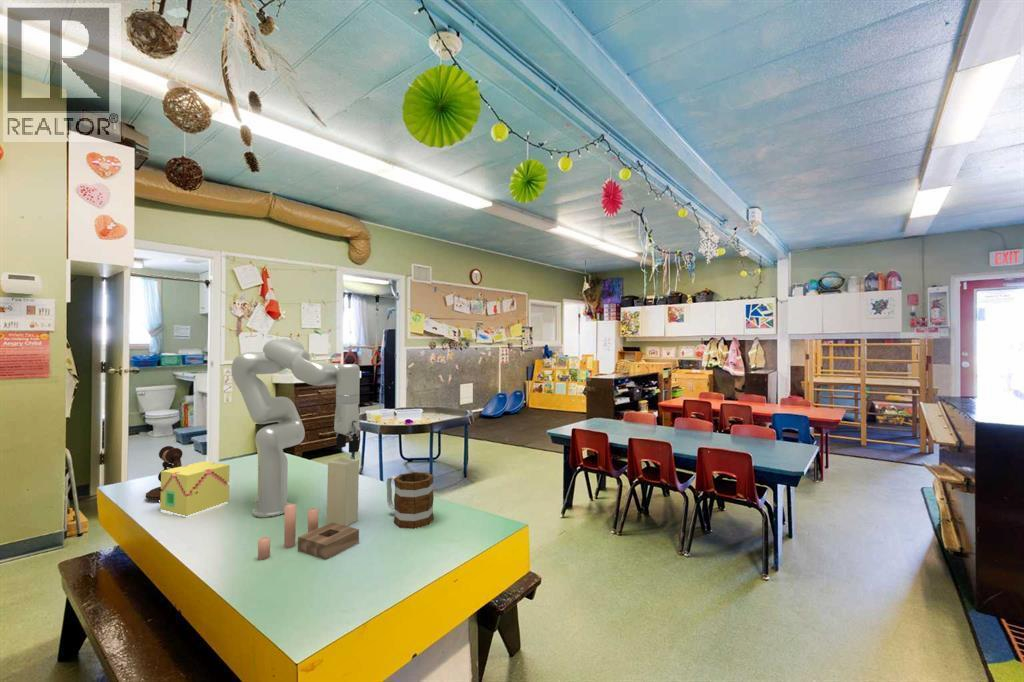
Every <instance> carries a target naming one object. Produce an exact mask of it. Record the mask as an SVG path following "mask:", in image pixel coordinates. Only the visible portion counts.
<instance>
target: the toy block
mask: <svg viewBox="0 0 1024 682" xmlns="http://www.w3.org/2000/svg"><path fill="white" fill-rule="evenodd" d="M167 469H168V468H167ZM160 472H161V482H160V487H161V489H162V491H161V500H160V503H159V504H160V506H159V507H160V508H159V509H162V510H166V511H170V512H173V513H177V514H181V515H185V516H188V515H190V514H193V513H196V512H199V511H202V510H205V509H207V508H210V507H213V506H216V505H219V504H221V503H224V502H228V501H229V502H230V464H226V463H216V462H212V461H206V460H203V461H199V462H195V463H191V464H187V465H183V466H182V467H177V468H169V469H168V470H164V469H163V471H162V470H161V471H160ZM228 483H229V484H228Z"/></svg>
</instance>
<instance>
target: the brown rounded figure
mask: <svg viewBox="0 0 1024 682" xmlns="http://www.w3.org/2000/svg"><path fill="white" fill-rule="evenodd" d="M158 457H159V458H160V459H161V460H162V461H163V462H161V463H162V466H161V467H162V468H163V470H168V469H172V468H177V467H183V465H182V457H183V450H182V449H180V448H179V447H174V446H171V445H166V446H163V447H162V448H161V449H160V450H159V452H158ZM163 470H161V471H163ZM161 471H160V472H159V473H158V477H157V478H158V481H159V482H160V483H161ZM161 491H162V489H161V486H158V487H154V488H152V489H151V490H150V489H149V491H147V492H146V493H145V499H146V500H157V501H158V500H161Z"/></svg>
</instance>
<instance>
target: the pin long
mask: <svg viewBox="0 0 1024 682" xmlns="http://www.w3.org/2000/svg"><path fill="white" fill-rule="evenodd" d="M296 512H297V504H296V503H290V504H288V505H286V506H285V513H284V524H283V525H284V533H283V534H284V535H283V536H284V538H283V539H284V540H283V541H284V542H283V548H285V549H290V548H293V546H294V547H295V546H296V532H297V531H296V529H297V528H296V527H297V525H296V524H297V522H296V521H297V520H296V519H297V518H296V517H297V513H296Z"/></svg>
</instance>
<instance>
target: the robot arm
mask: <svg viewBox="0 0 1024 682" xmlns="http://www.w3.org/2000/svg"><path fill="white" fill-rule="evenodd" d="M230 368H231V369H230V370H231V371H230V372H231V377H232V380H233V381H234V384H235V385H236V387H237V389H238V390H239V392H240V393H241V396H242V398H243V401H244V404H245V407H246V409H247V411H248V414H249V416H250V418H251V420H252V422H253V423H254V424H256V425H266V426H264V427H262V428H260V429H259V430H258V431H257V433H256V434H255V438H254V441H255V447H256V451H257V498H255V499H254V500H253V503H254V504H256V507H255V508H253V510H251V512H252V516H253V515H254V517H256V516H257V518H270V517H269V516H272V517H276V516H275V515H277V516H280V514H281V515H284V514H285V506H286V505H288V504H291V503H290V502H288V483H289V482H288V481H289V480H288V479H289V478H288V477H289V476H288V472H289V471H288V467H289V466H288V463H289V462H288V457H287V455H286V454H285V452H284V449H287V448H291V447H294V446H297V445H299V444H301V443H302V442H303V441H304V439H305V436H306V433H305V427H304V424H303V422H302V419H301V417H300V415H299V412H298V410H297V407H296V405H295V403H294V401H292V400H291V399H290V398H289V397H286V396H272V395H271V392H270V390H269V388H268V386H267V384H265V382H264V381H263V380H262V379H260V378H259V377H258V376H257V375H268V374H269V375H271V374H277V373H280V372H282V371H284V370H286V369H288V370H290V371H291V373H292V375H293V376H294V377H295V378H296V379H297V380H299V381H301V382H303V383H305V384H308V385H311V386H315V387H318V386H319V387H321V386H328V385H329V386H330V385H331V386H333V385H335V411H334V423H333V425H334V426H333V429H334V432H335V436H336V440H335V441H336V442H335V443H336V445H335V446H336V447H335V448H336V449H341V448H346V447H347V435H348V438H349V440H348V454H352V453H357V452H359V448H360V447H359V445H360V444H359V440H360V436H361V429H362V428H361V427H360V410H359V405H360V385H361V384H360V383H361V382H360V373H361V370H360V369H361V368H360V366H359V365H358V364H356V363H353V364H352V363H348V364H347V363H344V364H343V363H339V362H335V363H334V362H333V363H332V362H328V363H327V362H326V363H323V362H322V363H315V362H313V361H311V354H310V352H308V351H307V350H305V347H304V345H303V343H301V342H300V341H298V340H295V339H278V338H276V339H271V340H269V341H267V342H266V343H264V346H263V348H262V351H251V352H243V353H240V354H238V355H237V356H235V357H234V359H233V360H232V364H231V367H230ZM271 423H275V424H271ZM267 424H270V425H267ZM283 513H284V514H283Z"/></svg>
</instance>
